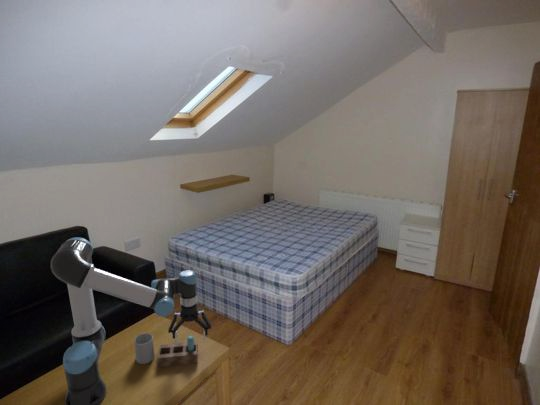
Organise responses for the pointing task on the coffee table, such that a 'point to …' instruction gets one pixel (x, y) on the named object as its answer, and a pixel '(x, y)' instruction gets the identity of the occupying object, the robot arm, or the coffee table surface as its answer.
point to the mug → (144, 348)
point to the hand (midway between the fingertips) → (190, 342)
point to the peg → (190, 343)
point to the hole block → (177, 354)
